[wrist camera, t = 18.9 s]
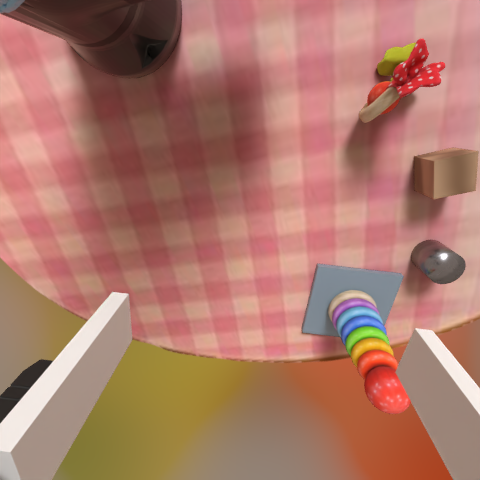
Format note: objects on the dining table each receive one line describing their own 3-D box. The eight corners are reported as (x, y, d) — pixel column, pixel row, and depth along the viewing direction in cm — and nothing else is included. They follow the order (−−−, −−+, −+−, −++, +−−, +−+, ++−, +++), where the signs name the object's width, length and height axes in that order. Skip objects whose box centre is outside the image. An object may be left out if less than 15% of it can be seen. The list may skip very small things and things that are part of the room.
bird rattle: (379, 122, 39) (444, 62, 33) (384, 157, 32) (470, 86, 25) (347, 93, 38) (408, 25, 32) (343, 121, 31) (424, 39, 24)
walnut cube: (414, 190, 41) (433, 199, 36) (413, 156, 39) (434, 161, 34) (450, 182, 40) (475, 190, 36) (452, 147, 38) (478, 151, 34)
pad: (301, 328, 52) (302, 332, 51) (317, 263, 47) (318, 266, 46) (376, 337, 52) (378, 341, 51) (400, 273, 46) (403, 276, 45)
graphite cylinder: (406, 265, 46) (422, 281, 41) (417, 237, 44) (436, 251, 39) (436, 269, 46) (456, 285, 41) (449, 241, 44) (471, 256, 39)
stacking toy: (372, 283, 46) (438, 380, 29) (375, 321, 49) (438, 428, 32) (324, 292, 48) (360, 389, 30) (330, 328, 51) (367, 435, 33)
